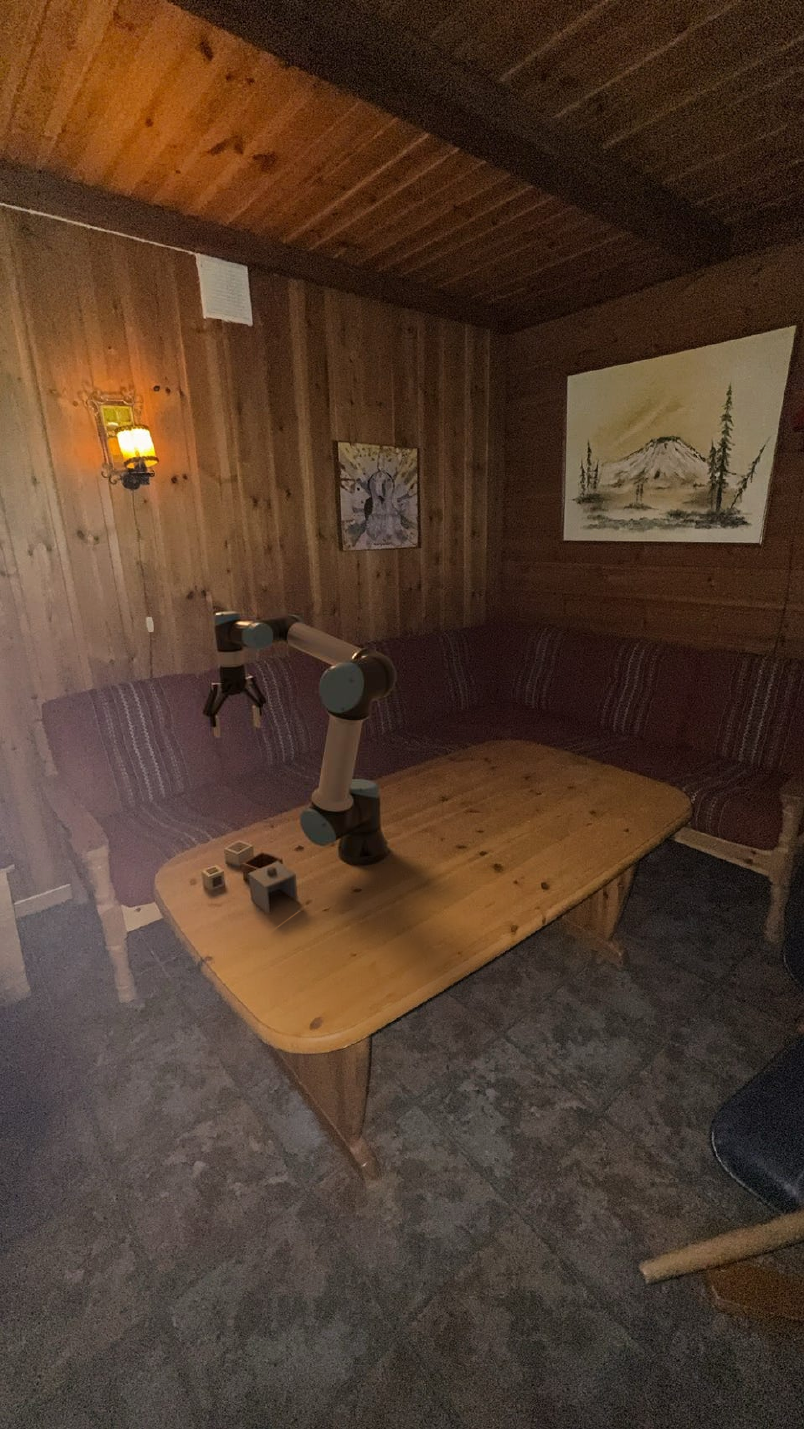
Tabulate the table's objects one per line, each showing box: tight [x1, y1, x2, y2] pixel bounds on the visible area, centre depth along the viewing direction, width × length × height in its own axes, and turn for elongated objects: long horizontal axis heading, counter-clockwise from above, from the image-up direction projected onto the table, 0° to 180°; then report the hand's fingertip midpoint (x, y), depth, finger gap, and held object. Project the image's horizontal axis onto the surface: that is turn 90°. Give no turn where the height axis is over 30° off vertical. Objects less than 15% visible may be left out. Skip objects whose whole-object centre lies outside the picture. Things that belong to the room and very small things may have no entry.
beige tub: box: [223, 840, 255, 868], centre depth 187 cm, size 6×6×4 cm
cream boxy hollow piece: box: [200, 864, 226, 892], centre depth 174 cm, size 5×4×5 cm
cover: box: [248, 862, 299, 915], centre depth 166 cm, size 9×9×9 cm
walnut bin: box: [241, 851, 284, 882], centre depth 178 cm, size 8×8×5 cm
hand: (237, 731), depth 192 cm, fingers open, 13 cm apart
